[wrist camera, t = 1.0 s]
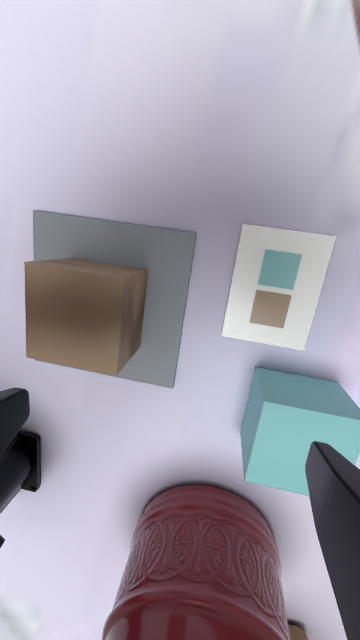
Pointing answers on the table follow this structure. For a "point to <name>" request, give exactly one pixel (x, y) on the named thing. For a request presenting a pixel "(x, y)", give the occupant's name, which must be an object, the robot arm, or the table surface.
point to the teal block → (294, 427)
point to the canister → (200, 572)
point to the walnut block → (84, 313)
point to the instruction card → (276, 285)
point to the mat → (136, 252)
